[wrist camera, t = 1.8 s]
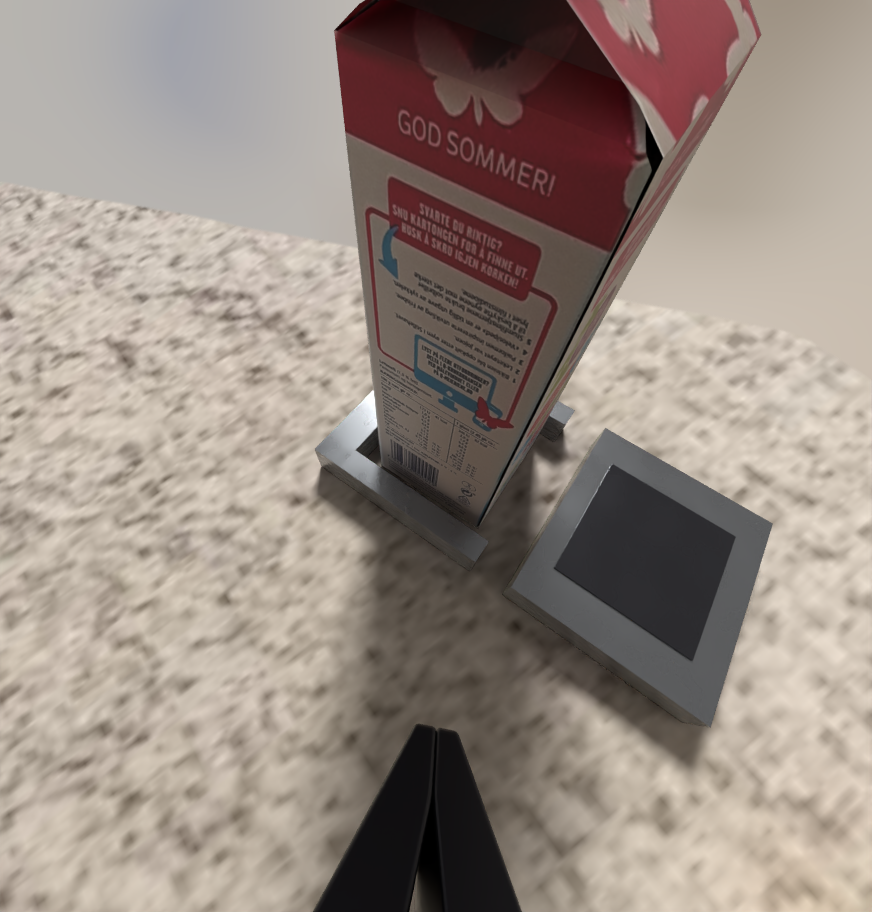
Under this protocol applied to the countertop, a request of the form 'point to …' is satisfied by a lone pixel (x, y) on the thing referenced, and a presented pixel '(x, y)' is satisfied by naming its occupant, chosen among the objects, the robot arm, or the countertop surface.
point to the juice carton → (510, 202)
